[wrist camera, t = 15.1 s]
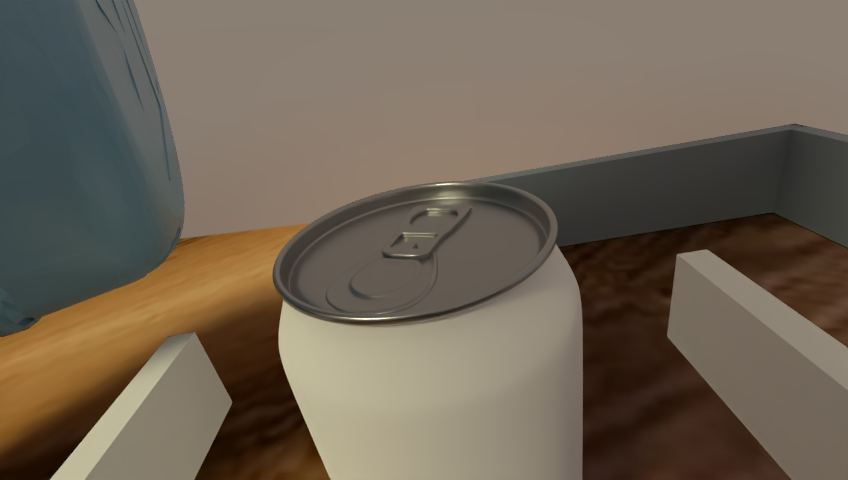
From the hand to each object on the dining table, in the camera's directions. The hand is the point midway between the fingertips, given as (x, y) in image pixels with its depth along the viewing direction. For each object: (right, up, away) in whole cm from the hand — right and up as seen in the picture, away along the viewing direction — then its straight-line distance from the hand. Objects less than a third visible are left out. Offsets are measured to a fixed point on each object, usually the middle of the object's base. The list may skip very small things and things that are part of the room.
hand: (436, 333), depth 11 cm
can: (+1, -8, +2) cm, 8 cm away
